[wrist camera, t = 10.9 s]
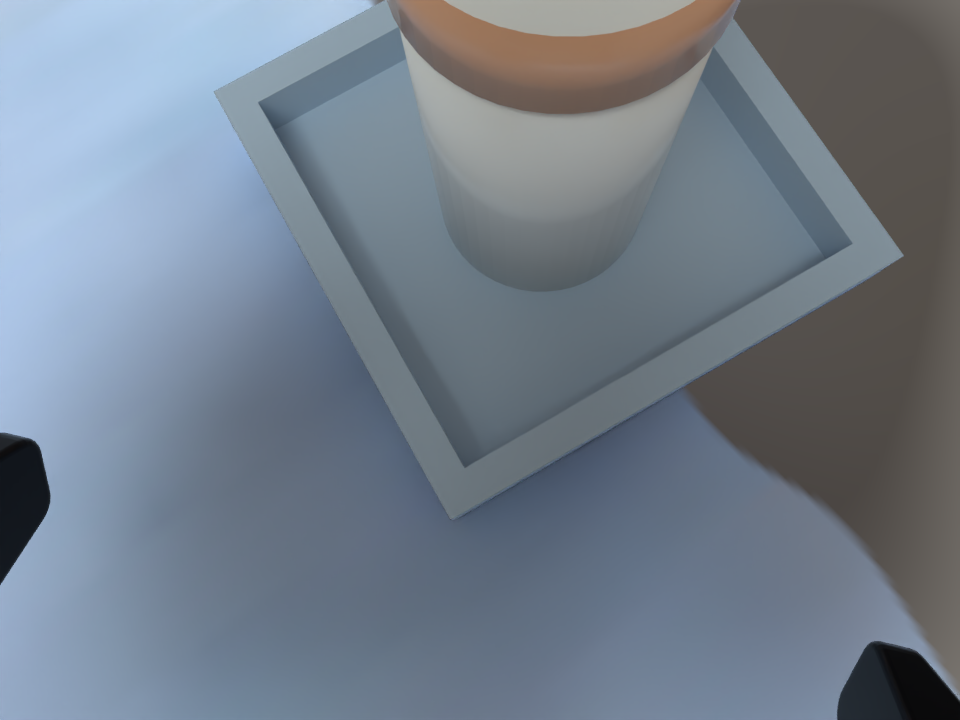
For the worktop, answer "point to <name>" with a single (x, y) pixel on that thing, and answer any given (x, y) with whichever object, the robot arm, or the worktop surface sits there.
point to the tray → (553, 314)
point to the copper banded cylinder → (552, 122)
